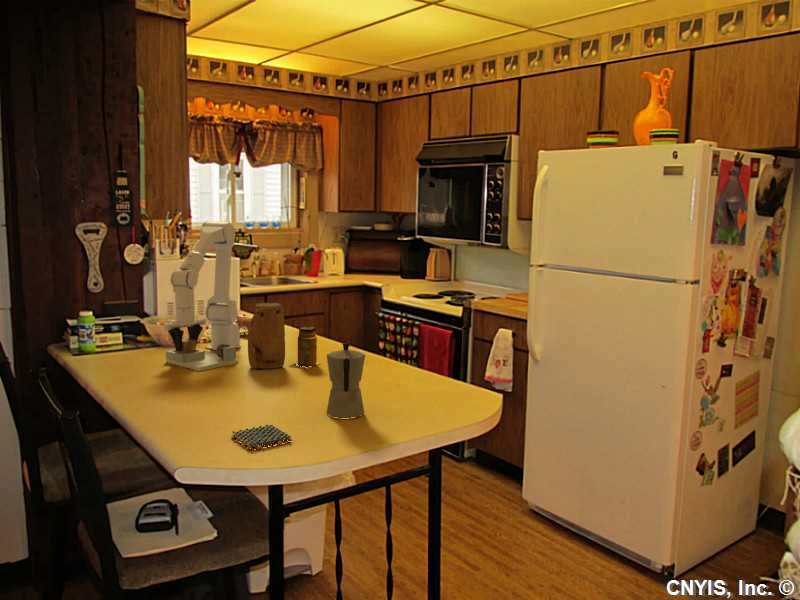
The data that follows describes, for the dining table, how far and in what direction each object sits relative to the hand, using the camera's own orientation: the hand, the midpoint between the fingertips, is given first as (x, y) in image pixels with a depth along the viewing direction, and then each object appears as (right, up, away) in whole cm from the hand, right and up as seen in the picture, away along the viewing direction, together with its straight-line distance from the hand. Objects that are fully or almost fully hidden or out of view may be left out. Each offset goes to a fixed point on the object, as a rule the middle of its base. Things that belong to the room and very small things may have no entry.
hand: (185, 349), depth 217 cm
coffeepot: (+55, -13, -50) cm, 75 cm away
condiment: (+38, -5, 0) cm, 38 cm away
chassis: (+5, -4, +1) cm, 7 cm away
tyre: (+12, -3, +1) cm, 12 cm away
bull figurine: (+8, +2, +46) cm, 47 cm away
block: (+26, -5, -3) cm, 27 cm away
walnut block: (0, -3, 0) cm, 3 cm away
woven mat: (+38, -16, -68) cm, 79 cm away
